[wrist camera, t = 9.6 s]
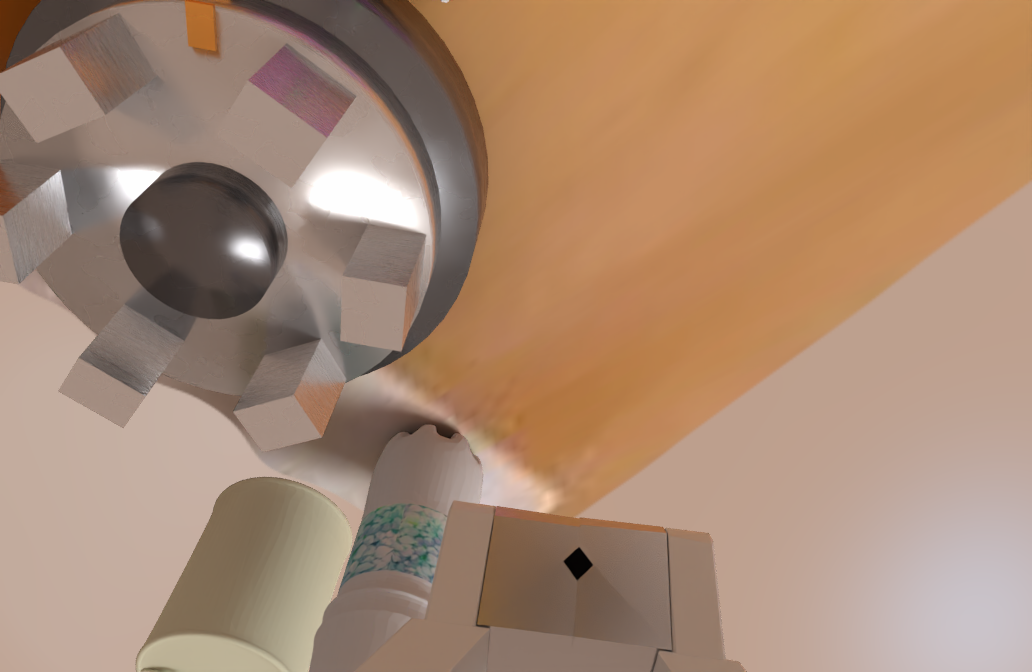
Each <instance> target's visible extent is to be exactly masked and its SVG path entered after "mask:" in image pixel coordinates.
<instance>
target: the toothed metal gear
mask: <svg viewBox="0 0 1032 672" xmlns="http://www.w3.org/2000/svg"><path fill="white" fill-rule="evenodd" d="M0 94H1V95H2V96H3V98H4V99H5V100H6V102H5V105H4V108H3V111H2V114H1V120H0V281H3V282H9V283H14V284H19V283H21V282H22V281H23V280H24V279H25V278H26V277H27V276H28V275H29V274H30V273H31V272H32V271H33V270H34V269H37V271H38V272H39V273H40V275H41V276H42V277H43V279H44V280H45V282H46V283H47V284H48V286H49V287H50V288H51V289H52V291H53V292H54V293H55V294H56V295H57V296H58V297H59V299H60V300H61V301H62V302H63V303H64V304H65V305H66V307H67V308H68V309H69V310H70V311H72V312H73V313H74V314H75V315H76V316H77V317H78V318H79V319H80V320H81V321H82V322H83V323H84V324H85V325H86V326H87V327H89V328H90V329H91V330H92V331H94V332H95V333H96V334H98V336H97V337H96V338H95V339H94V340H93V341H92V343H91V344H90V345H89V346H88V347H87V349H86V350H85V351H84V352H83V353H82V354H81V356H80V357H79V358H78V360H77V361H76V363H75V365H74V366H73V368H72V369H71V371H70V373H69V374H68V376H67V378H66V379H65V381H64V383H63V384H62V386H61V388H60V389H59V392H60V393H62V394H64V395H66V396H68V397H69V398H71V399H73V400H74V401H76V402H78V403H80V404H82V405H83V406H85V407H87V408H89V409H90V410H92V411H94V412H96V413H97V414H99V415H101V416H103V417H105V418H106V419H108V420H110V421H112V422H113V423H115V424H117V425H119V426H121V427H122V428H124V426H125V425H126V424H127V422H128V421H129V419H130V418H131V416H132V415H133V413H134V412H135V411H136V409H137V408H138V406H139V405H140V404H141V402H142V401H143V399H144V398H145V396H146V395H147V393H148V392H149V391H150V389H151V388H152V387H153V385H154V384H155V382H156V381H157V380H158V378H159V377H160V375H161V374H164V375H166V376H168V377H171V378H173V379H175V380H178V381H180V382H184V383H187V384H190V385H193V386H196V387H199V388H202V389H206V390H210V391H215V392H219V393H224V394H228V395H236V396H241V398H240V400H239V402H238V403H237V405H236V407H235V409H234V410H233V413H234V414H235V416H236V417H237V418H238V420H239V421H240V422H241V424H242V425H243V427H244V428H245V429H246V431H247V432H248V433H249V435H250V436H251V437H252V439H253V440H254V442H255V443H256V444H257V446H258V447H259V448H260V450H261V451H262V452H266V451H270V450H274V449H278V448H282V447H286V446H290V445H294V444H298V443H302V442H306V441H310V440H314V439H318V438H322V436H323V434H324V432H325V429H326V427H327V424H328V422H329V420H330V417H331V415H332V412H333V410H334V408H335V405H336V403H337V400H338V398H339V396H340V393H341V391H342V388H343V386H344V384H345V383H346V382H348V381H351V380H353V379H355V378H357V377H359V376H361V375H362V374H364V373H365V372H367V371H368V370H370V369H371V368H373V367H374V366H376V365H377V364H379V363H380V362H381V361H382V360H383V359H384V358H385V357H386V356H387V355H388V354H390V353H391V352H392V351H393V350H395V351H402V348H403V346H404V343H405V340H406V337H407V334H408V331H409V329H410V327H411V326H412V324H413V322H414V320H415V318H416V316H417V315H418V313H419V310H420V308H421V305H422V302H423V299H424V296H425V293H426V291H427V288H428V285H429V282H430V279H431V276H432V273H433V270H434V267H435V264H436V261H437V256H438V251H439V245H440V240H441V216H442V214H441V205H440V196H439V188H438V184H437V180H436V176H435V172H434V169H433V165H432V162H431V159H430V157H429V154H428V152H427V149H426V147H425V144H424V142H423V139H422V137H421V135H420V133H419V131H418V130H417V128H416V126H415V124H414V122H413V121H412V119H411V117H410V115H409V113H408V112H407V110H406V109H405V107H404V106H403V105H402V103H401V102H400V100H399V99H398V98H397V96H396V95H395V93H394V92H393V91H392V89H391V88H390V87H389V86H388V84H387V83H386V82H385V81H384V80H383V79H382V78H381V77H380V76H379V75H378V74H377V72H376V71H375V70H374V69H373V68H372V67H371V66H370V65H369V64H368V63H367V62H366V61H365V60H364V59H363V58H361V57H360V56H359V55H358V54H357V53H356V52H354V51H353V50H352V49H351V48H350V47H349V46H348V45H346V44H345V43H344V42H343V41H341V40H340V39H338V38H337V37H335V36H334V35H332V34H331V33H329V32H328V31H327V30H325V29H324V28H322V27H321V26H319V25H318V24H316V23H314V22H312V21H310V20H308V19H307V18H305V17H303V16H301V15H299V14H297V13H295V12H293V11H291V10H289V9H287V8H285V7H282V6H279V5H277V4H274V3H272V2H269V1H266V0H117V1H114V2H112V3H110V4H109V5H107V6H105V7H103V8H101V9H99V10H98V11H96V12H94V13H92V14H90V15H88V16H87V17H85V18H83V19H81V20H79V21H78V22H76V23H74V24H72V25H71V26H69V27H67V28H65V29H63V30H62V31H60V32H58V33H57V34H55V35H54V36H53V37H52V38H51V39H49V40H48V41H47V42H46V43H45V44H43V45H42V46H41V47H40V48H39V49H38V50H37V51H36V52H35V53H34V54H32V55H30V56H28V57H27V58H25V59H23V60H21V61H19V62H18V63H16V64H14V65H12V66H10V67H9V68H7V69H5V70H3V71H2V72H0Z"/></svg>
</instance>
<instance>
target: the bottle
mask: <svg viewBox="0 0 1032 672" xmlns="http://www.w3.org/2000/svg"><path fill="white" fill-rule="evenodd" d="M482 483H483V469H482V464H481V462H480V459H479V458H478V457H477V456H476V455H474V454H472V453H471V451H470V447H469V443H468V441H467V439H466V438H465V437H464V436H462V435H461V434H459V433H455V434H454V435H453V436H452V437H451V439H449V438H446V437H443V436H440V435H439V434H438V433H437V429H436V426H434V425H423V426H422V427H420V428H419V429H418V430H417V431H416V432H414V433H413V434H412V435H410V434H409V433H407V432H400V433H398V434H396V435H395V436H394V437H393V438H391V440H390V441H389V442H388V443H387V445H386V446H385V448H384V450H383V452H382V454H381V456H380V457H379V459H378V461H377V464H376V466H375V469H374V472H373V475H372V479H371V483H370V487H369V491H368V496H367V500H366V505H365V509H364V514H363V517H362V521H361V525H360V527H359V530H358V533H357V536H356V539H355V542H354V545H353V548H352V551H351V554H350V558H349V561H348V564H347V567H346V570H345V573H344V576H343V579H342V582H341V586H340V588H339V592H338V595H337V597H336V598H335V599H334V600H333V601H332V602H331V603H330V604H329V605H328V606H327V608H326V609H325V611H324V614H323V618H322V624H321V625H320V627H319V628H318V630H317V632H316V634H315V637H314V644H313V652H312V658H311V663H310V670H309V672H354V671H355V670H356V669H357V668H358V667H359V666H360V665H362V664H363V663H364V662H365V661H366V660H367V659H368V658H369V657H370V656H371V655H372V654H373V653H374V652H375V651H376V650H378V649H379V648H380V647H381V646H382V645H383V644H384V643H385V642H386V641H387V640H388V639H389V638H390V637H391V636H392V635H394V634H395V633H396V632H397V631H398V630H399V629H400V628H401V627H402V626H403V625H404V624H405V623H406V622H407V621H408V620H410V619H411V618H417V619H424V618H425V613H426V609H427V605H428V600H429V596H430V591H431V587H432V582H433V578H434V574H435V569H436V565H437V560H438V556H439V551H440V547H441V542H442V538H443V534H444V529H445V525H446V520H447V516H448V511H449V509H450V507H451V505H452V503H453V500H455V501H462V502H469V503H476V504H479V503H480V498H481V492H482Z"/></svg>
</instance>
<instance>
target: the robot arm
mask: <svg viewBox="0 0 1032 672" xmlns="http://www.w3.org/2000/svg"><path fill="white" fill-rule="evenodd" d="M354 672H747V671H746V670H745V669H744V667H743V666H742V665H741V663H740V662H738V661H732V660H727V659H726V658H725V649H724V639H723V630H722V620H721V611H720V602H719V592H718V583H717V573H716V563H715V554H714V545H713V540H712V538H711V536H710V534H709V533H704V532H695V531H687V530H679V529H671V528H665V529H664V528H663V527H659V526H650V525H641V524H633V523H624V522H615V521H605V520H598V519H589V518H572V517H565V516H559V515H552V514H546V513H539V512H533V511H526V510H519V509H513V508H506V507H500V506H497V507H496V506H490V505H483V504H476V503H469V502H462V501H455V500H453V503H452V505H451V507H450V509H449V511H448V516H447V520H446V525H445V529H444V534H443V538H442V542H441V547H440V551H439V556H438V560H437V565H436V569H435V574H434V578H433V582H432V587H431V591H430V596H429V600H428V605H427V609H426V613H425V618H424V619H417V618H411V619H410V620H408V621H407V622H406V623H405V624H404V625H403V626H402V627H401V628H400V629H399V630H398V631H397V632H396V633H395V634H394V635H392V636H391V637H390V638H389V639H388V640H387V641H386V642H385V643H384V644H383V645H382V646H381V647H380V648H379V649H378V650H376V651H375V652H374V653H373V654H372V655H371V656H370V657H369V658H368V659H367V660H366V661H365V662H364V663H363V664H362V665H360V666H359V667H358V668H357V669H356V670H355V671H354Z"/></svg>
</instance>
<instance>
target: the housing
mask: <svg viewBox="0 0 1032 672" xmlns="http://www.w3.org/2000/svg"><path fill="white" fill-rule="evenodd" d="M114 1H117V0H42V1H41V2H40V3H39V4H38V5H37V6H36V7H35V8H34V9H33V11H32V12H31V14H30V15H29V17H28V19H27V20H26V22H25V24H24V25H23V27H22V29H21V30H20V32H19V33H18V35H17V37H16V40H15V43H14V45H13V48H12V50H11V53H10V56H9V58H8V61H7V65H6V69H7V68H9V67H10V66H12V65H14V64H16V63H18V62H19V61H21V60H23V59H25V58H27V57H28V56H30V55H32V54H34V53H35V52H36V51H37V50H38V49H39V48H40V47H41V46H42V45H43V44H45V43H46V42H47V41H48V40H49V39H51V38H52V37H53V36H54V35H55V34H57V33H58V32H60V31H62V30H63V29H65V28H67V27H69V26H71V25H72V24H74V23H76V22H78V21H79V20H81V19H83V18H85V17H87V16H88V15H90V14H92V13H94V12H96V11H98V10H99V9H101V8H103V7H105V6H107V5H109V4H110V3H112V2H114ZM266 1H269V2H272V3H274V4H277V5H279V6H282V7H285V8H287V9H289V10H291V11H293V12H295V13H297V14H299V15H301V16H303V17H305V18H307V19H308V20H310V21H312V22H314V23H316V24H318V25H319V26H321V27H322V28H324V29H325V30H327V31H328V32H329V33H331V34H332V35H334V36H335V37H337V38H338V39H340V40H341V41H343V42H344V43H345V44H346V45H348V46H349V47H350V48H351V49H352V50H353V51H354V52H356V53H357V54H358V55H359V56H360V57H361V58H363V59H364V60H365V61H366V62H367V63H368V64H369V65H370V66H371V67H372V68H373V69H374V70H375V71H376V72H377V74H378V75H379V76H380V77H381V78H382V79H383V80H384V81H385V82H386V83H387V84H388V86H389V87H390V88H391V89H392V91H393V92H394V93H395V95H396V96H397V98H398V99H399V100H400V102H401V103H402V105H403V106H404V107H405V109H406V110H407V112H408V113H409V115H410V117H411V119H412V121H413V122H414V124H415V126H416V128H417V130H418V131H419V133H420V135H421V137H422V139H423V142H424V144H425V147H426V149H427V152H428V154H429V157H430V159H431V162H432V165H433V169H434V172H435V176H436V180H437V184H438V188H439V196H440V205H441V214H442V216H441V240H440V245H439V251H438V256H437V261H436V264H435V267H434V270H433V273H432V276H431V279H430V282H429V285H428V288H427V291H426V293H425V296H424V299H423V302H422V305H421V308H420V310H419V313H418V315H417V316H416V318H415V320H414V322H413V324H412V326H411V327H410V329H409V331H408V334H407V337H406V340H405V343H404V346H403V348H402V351H395V350H393V351H392V352H391V353H390V354H388V355H387V356H386V357H385V358H384V359H383V360H382V361H381V362H380V363H379V364H377V365H376V366H374V367H373V368H371V369H370V370H368V371H367V372H365V373H364V374H362V375H365V374H368V373H370V372H372V371H375V370H377V369H379V368H382V367H384V366H386V365H388V364H390V363H392V362H394V361H395V360H397V359H398V358H400V357H402V356H403V355H405V354H407V353H408V352H410V351H411V350H412V349H413V348H415V347H416V346H417V345H418V344H419V343H421V342H422V341H423V340H424V339H425V338H427V337H428V336H429V335H430V334H431V332H432V331H433V330H434V329H435V328H436V327H437V326H438V325H439V323H440V322H441V321H442V320H443V319H444V318H445V316H446V314H447V313H448V311H449V310H450V308H451V307H452V305H453V304H454V302H455V300H456V299H457V297H458V295H459V293H460V290H461V288H462V286H463V283H464V281H465V279H466V277H467V274H468V270H469V267H470V263H471V260H472V256H473V252H474V249H475V245H476V241H477V238H478V234H479V230H480V227H481V223H482V219H483V215H484V212H485V207H486V198H487V189H488V156H487V150H486V144H485V138H484V132H483V127H482V123H481V120H480V117H479V114H478V110H477V107H476V104H475V100H474V98H473V96H472V93H471V91H470V89H469V87H468V84H467V82H466V80H465V78H464V76H463V73H462V71H461V69H460V68H459V66H458V64H457V63H456V61H455V59H454V58H453V56H452V55H451V53H450V51H449V50H448V48H447V46H446V45H445V43H444V42H443V40H442V39H441V38H440V37H439V35H438V34H437V33H436V32H435V30H434V29H433V28H432V26H431V25H430V24H429V23H428V21H427V20H426V19H425V18H424V16H423V15H422V14H421V13H420V12H419V11H418V10H417V9H416V8H415V7H414V6H413V5H412V4H411V3H410V2H409V1H408V0H266ZM5 102H6V100H5V99H4V98H3V96H2V95H1V113H0V120H1V114H2V111H3V108H4V105H5ZM362 375H361V376H362Z"/></svg>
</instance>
